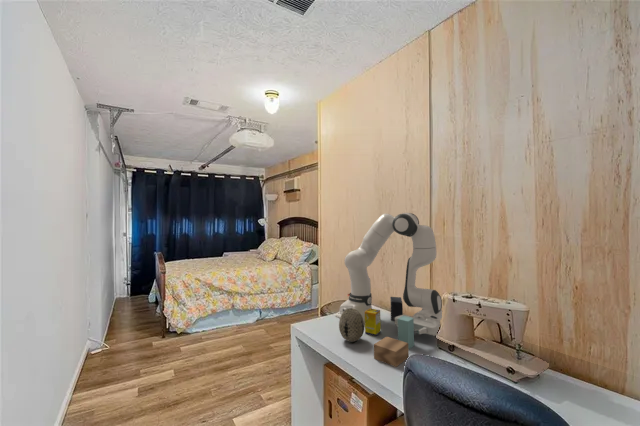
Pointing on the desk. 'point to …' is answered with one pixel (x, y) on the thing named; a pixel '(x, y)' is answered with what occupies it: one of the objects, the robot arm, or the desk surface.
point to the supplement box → (372, 322)
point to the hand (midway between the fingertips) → (408, 329)
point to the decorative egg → (351, 325)
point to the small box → (396, 307)
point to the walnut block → (391, 351)
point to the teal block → (406, 330)
